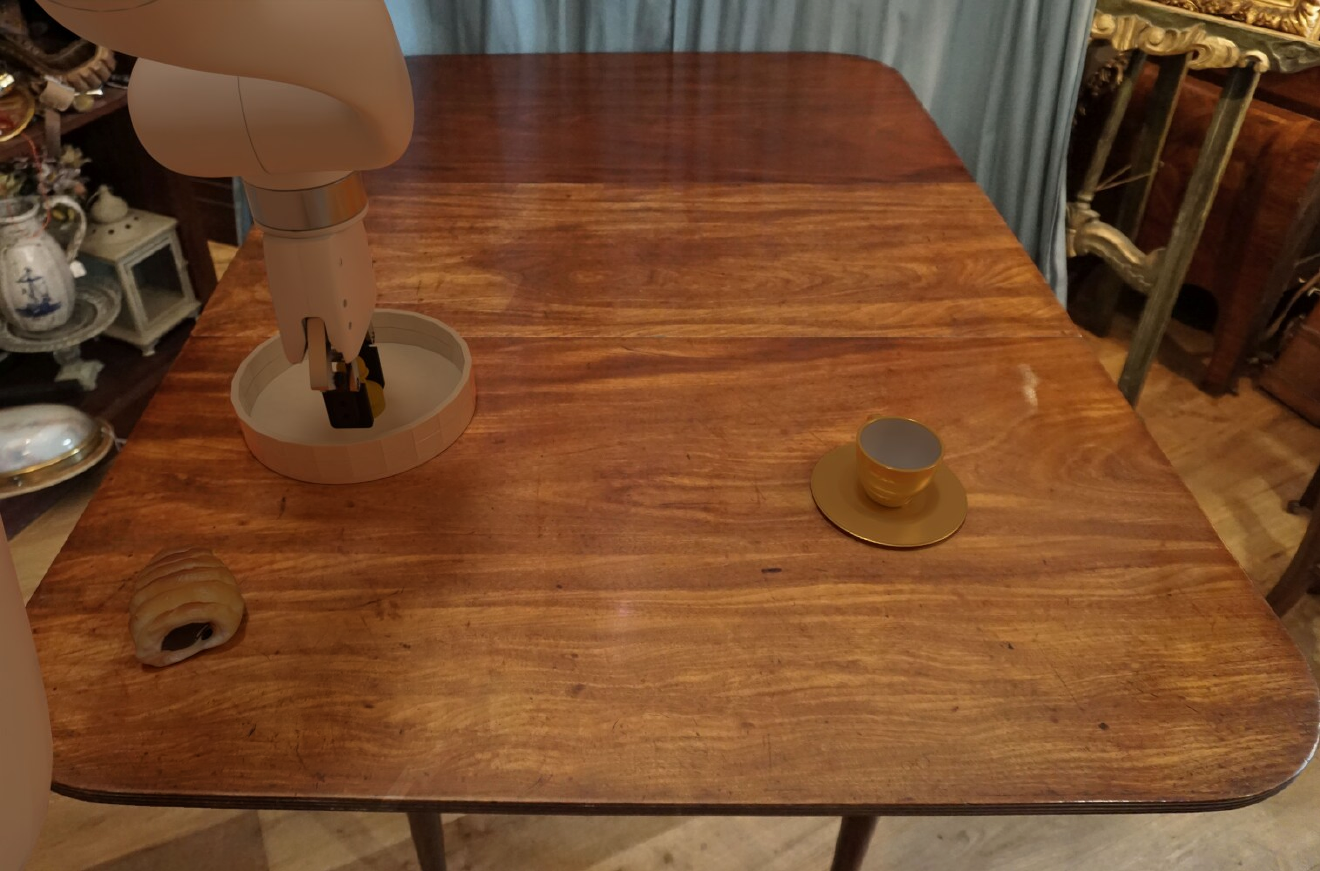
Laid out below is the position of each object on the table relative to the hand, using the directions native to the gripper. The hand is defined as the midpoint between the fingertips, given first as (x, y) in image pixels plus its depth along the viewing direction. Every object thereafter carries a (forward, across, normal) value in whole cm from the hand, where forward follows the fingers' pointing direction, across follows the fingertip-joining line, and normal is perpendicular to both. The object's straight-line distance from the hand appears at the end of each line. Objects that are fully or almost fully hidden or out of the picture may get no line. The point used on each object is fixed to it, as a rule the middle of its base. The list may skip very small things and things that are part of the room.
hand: (359, 405), depth 74 cm
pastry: (+4, +18, -8) cm, 20 cm away
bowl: (+4, -5, -1) cm, 6 cm away
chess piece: (0, 0, 0) cm, 1 cm away
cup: (+4, +7, +41) cm, 42 cm away
